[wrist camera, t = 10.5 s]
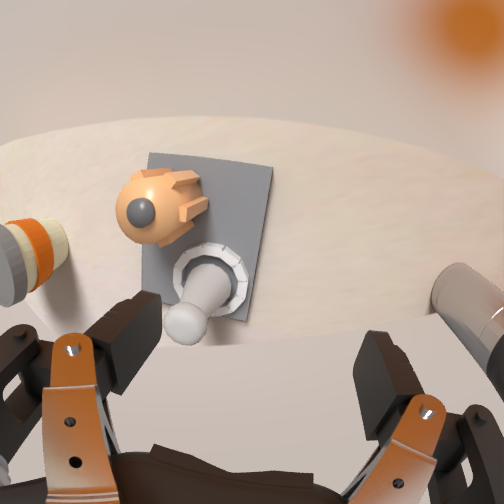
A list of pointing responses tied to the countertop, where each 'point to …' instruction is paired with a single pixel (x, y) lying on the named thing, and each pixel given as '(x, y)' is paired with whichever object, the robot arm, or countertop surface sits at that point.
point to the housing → (196, 223)
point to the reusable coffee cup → (29, 256)
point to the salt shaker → (197, 304)
